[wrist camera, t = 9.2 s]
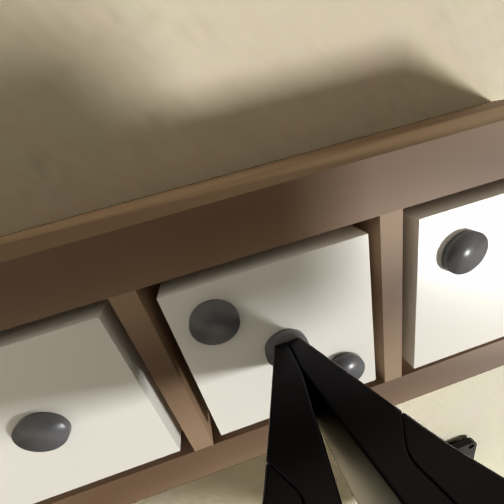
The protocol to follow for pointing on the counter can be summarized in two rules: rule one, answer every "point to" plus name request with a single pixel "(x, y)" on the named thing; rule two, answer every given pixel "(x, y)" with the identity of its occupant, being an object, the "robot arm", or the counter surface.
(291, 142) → the counter surface
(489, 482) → the robot arm
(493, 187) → the tile two pips
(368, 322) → the tile three pips
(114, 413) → the tile one pip
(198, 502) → the counter surface
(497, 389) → the counter surface
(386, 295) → the tile panel
